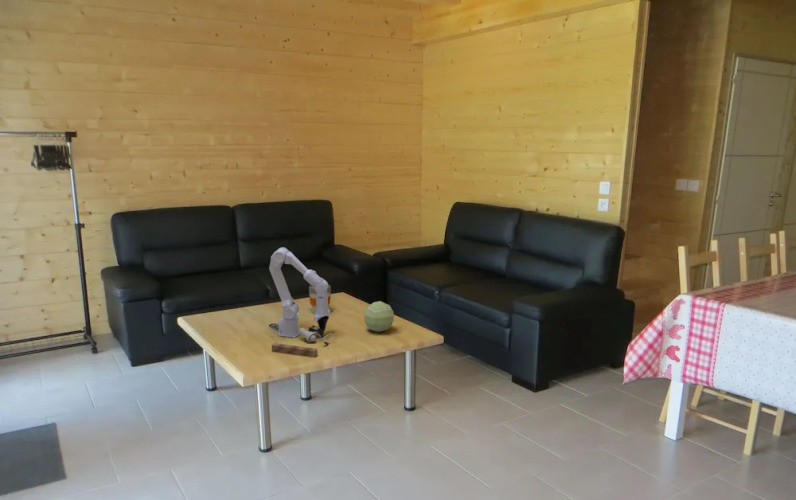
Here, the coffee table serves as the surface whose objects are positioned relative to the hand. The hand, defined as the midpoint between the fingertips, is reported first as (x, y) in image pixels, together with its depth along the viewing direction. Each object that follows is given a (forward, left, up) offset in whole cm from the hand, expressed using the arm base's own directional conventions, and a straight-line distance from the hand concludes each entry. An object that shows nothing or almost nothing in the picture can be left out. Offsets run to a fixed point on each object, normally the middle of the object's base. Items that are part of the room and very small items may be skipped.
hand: (322, 330), depth 288 cm
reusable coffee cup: (-19, +35, -3) cm, 40 cm away
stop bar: (-1, -27, -2) cm, 27 cm away
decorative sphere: (+24, +16, -3) cm, 29 cm away
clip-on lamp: (+1, -8, -3) cm, 8 cm away
